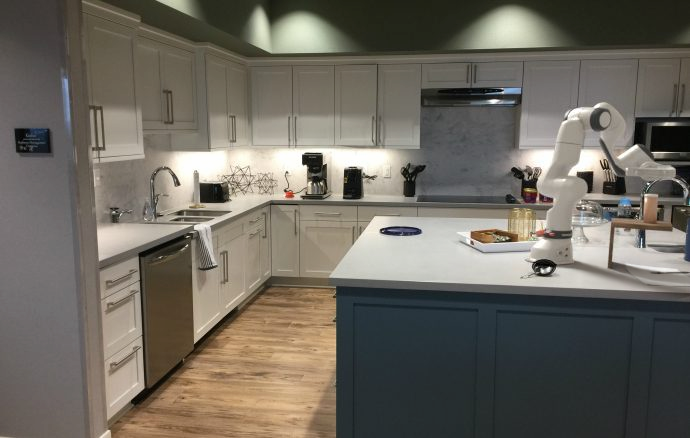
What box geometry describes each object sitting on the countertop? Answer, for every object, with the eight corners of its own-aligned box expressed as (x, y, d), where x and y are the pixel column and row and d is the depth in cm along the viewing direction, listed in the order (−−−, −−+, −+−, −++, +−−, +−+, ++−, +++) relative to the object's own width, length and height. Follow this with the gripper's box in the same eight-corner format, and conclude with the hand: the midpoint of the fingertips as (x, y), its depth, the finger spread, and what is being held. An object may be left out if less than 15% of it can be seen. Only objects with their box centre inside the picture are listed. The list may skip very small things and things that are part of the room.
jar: (651, 223, 240) (652, 195, 239) (640, 222, 245) (641, 194, 243) (659, 222, 243) (660, 194, 241) (648, 221, 247) (649, 193, 246)
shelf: (608, 261, 260) (611, 217, 257) (665, 266, 250) (670, 221, 247) (607, 268, 246) (611, 222, 243) (668, 274, 236) (672, 226, 233)
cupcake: (541, 244, 295) (542, 222, 294) (531, 241, 304) (532, 219, 302) (555, 244, 298) (556, 221, 296) (545, 241, 306) (547, 218, 304)
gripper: (625, 163, 271) (625, 165, 259) (674, 165, 262) (677, 167, 250) (624, 177, 272) (624, 179, 260) (673, 179, 263) (675, 181, 251)
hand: (650, 173), depth 255 cm, fingers open, 8 cm apart
